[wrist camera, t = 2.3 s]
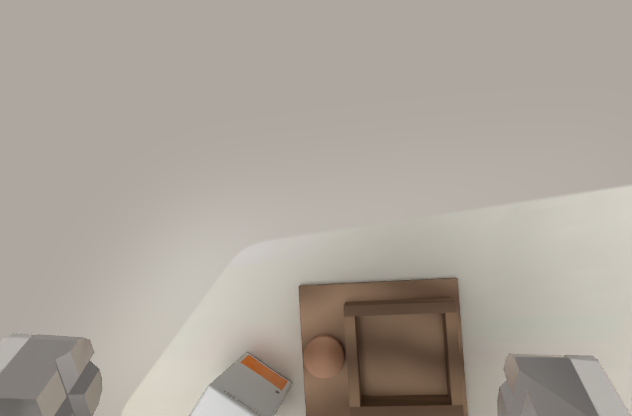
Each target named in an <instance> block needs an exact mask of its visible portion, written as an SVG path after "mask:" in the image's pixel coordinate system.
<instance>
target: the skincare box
mask: <svg viewBox="0 0 632 416" xmlns="http://www.w3.org/2000/svg"><path fill="white" fill-rule="evenodd" d="M291 385H292V382H290V381H289V380H287V379H285V378H284V377H282V376H281V375H279V374H278V373H276V372H275V371H273V370H272V369H270V368H269V367H267V366H266V365H265V364H263V363H262V362H260V361H259V360H258V359H256V358H255V357H253V356H252V355H251V354H249V353H245V354H244V355H243V356H242V357H241V358H240V359H239V360H237V361H236V362H235V363H234V364H233V365H232V366H230V367H229V368H228V369H227V370H226V371H225V372H223V373H222V374H221V375H220V376H219V377H218V378H216V379H215V380H214V381H213V382H212V383H211V384H209V385H208V387H207V389H206V390H205V392H204V393H203V395H202V396H201V398H200V399H199V401H198V402H197V404H196V406H195V407H194V409H193V410H192V412H191V414H190V415H189V416H273V415H274V414H275V412H276V411H277V409H278V407H279V406H280V404H281V402H282V401H283V399H284V397H285V395H286V394H287V392H288V390H289V389H290V387H291Z"/></svg>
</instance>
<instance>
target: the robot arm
mask: <svg viewBox="0 0 632 416" xmlns="http://www.w3.org/2000/svg"><path fill="white" fill-rule="evenodd" d="M93 354H94V350H93V347H92V344H91V341H90V340H89V339H86V338H83V337H68V336H51V335H27V334H12V335H9V336H7V337H5V338H4V339H3V340H2V341H1V342H0V416H93V414H94V412H95V410H96V408H97V407H98V404H99V401H100V396H101V392H102V377H101V373H100V369H99V368H97V366H95V365H94V364H93V363H92V362H91V361H90V359H91V357H92V356H93ZM504 372H505V375H506V378H507V381H506V382H504V383H503V384H502V385H501V386H500V387H499V393H498V399H497V405H498V416H631V414H630V413H629V411H628V409H627V408H626V406H625V404H624V403H623V401H622V399H621V398H620V396H619V394H618V393H617V391H616V389H615V388H614V386H613V384H612V382H611V381H610V379H609V377H608V376H607V374H606V372H605V371H604V369H603V367H602V366H601V364H600V362H599V361H598V359H596V358H595V357H594V356H578V355H564V356H562V355H535V354H509V355H508V356H507V358H506V360H505V364H504Z"/></svg>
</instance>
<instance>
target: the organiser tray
mask: <svg viewBox="0 0 632 416" xmlns="http://www.w3.org/2000/svg"><path fill="white" fill-rule="evenodd" d="M299 302H300V319H301V336H302V353H303V370H304V387H305V404H306V416H468V414H467V400H466V387H465V373H464V360H463V346H462V333H461V319H460V306H459V292H458V279H457V278H443V279H422V280H402V281H381V282H360V283H339V284H318V285H300V286H299Z"/></svg>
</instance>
